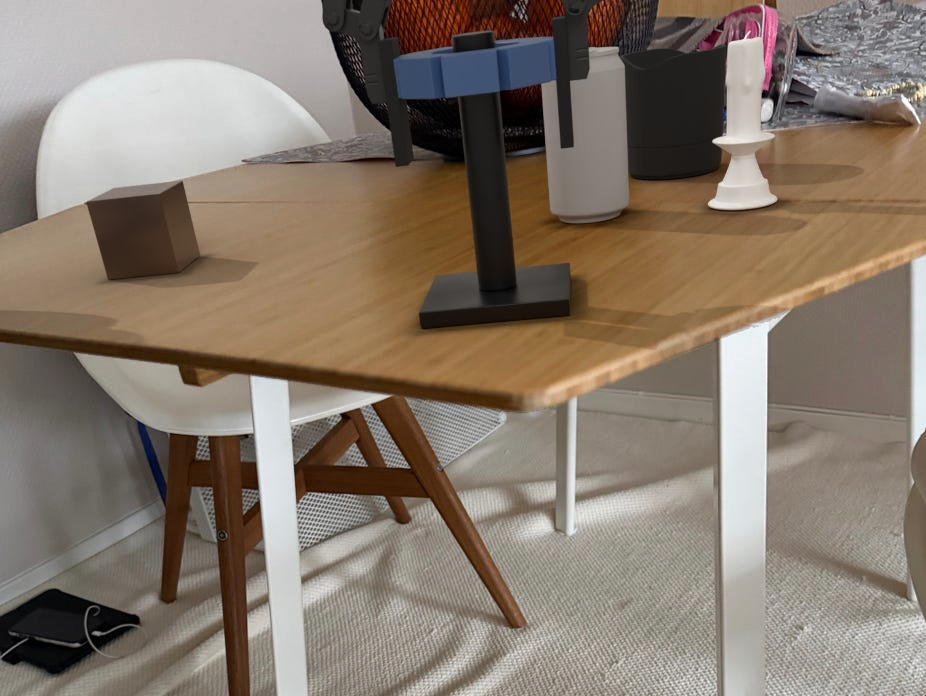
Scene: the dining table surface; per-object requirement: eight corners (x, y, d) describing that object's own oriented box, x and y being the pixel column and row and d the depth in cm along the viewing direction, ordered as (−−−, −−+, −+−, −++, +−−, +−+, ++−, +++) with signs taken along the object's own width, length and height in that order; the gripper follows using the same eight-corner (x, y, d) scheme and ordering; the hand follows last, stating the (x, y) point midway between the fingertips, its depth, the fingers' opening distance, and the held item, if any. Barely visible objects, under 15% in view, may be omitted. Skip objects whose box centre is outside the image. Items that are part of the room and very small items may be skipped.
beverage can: (539, 226, 88) (526, 58, 81) (567, 208, 92) (557, 48, 86) (614, 224, 85) (607, 50, 79) (640, 206, 90) (635, 41, 83)
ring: (390, 104, 59) (385, 63, 58) (411, 88, 67) (407, 51, 66) (555, 85, 58) (552, 43, 57) (558, 70, 66) (555, 33, 65)
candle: (781, 195, 87) (787, 24, 81) (771, 209, 83) (776, 30, 77) (715, 198, 89) (715, 31, 83) (701, 212, 85) (701, 38, 79)
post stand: (420, 328, 66) (382, 48, 58) (436, 290, 73) (404, 37, 66) (570, 315, 65) (551, 27, 57) (570, 277, 72) (554, 19, 65)
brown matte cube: (107, 279, 88) (85, 201, 85) (133, 262, 93) (113, 187, 90) (178, 272, 88) (159, 193, 84) (200, 255, 93) (182, 180, 90)
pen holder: (705, 158, 106) (705, 42, 101) (740, 171, 98) (742, 46, 93) (612, 171, 106) (607, 55, 100) (639, 185, 98) (635, 60, 92)
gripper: (656, -366, 55) (666, 124, 66) (239, -297, 57) (319, 163, 69) (667, -409, 48) (676, 142, 60) (197, -329, 51) (293, 184, 63)
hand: (485, 153), depth 65 cm, fingers closed on ring, 9 cm apart
